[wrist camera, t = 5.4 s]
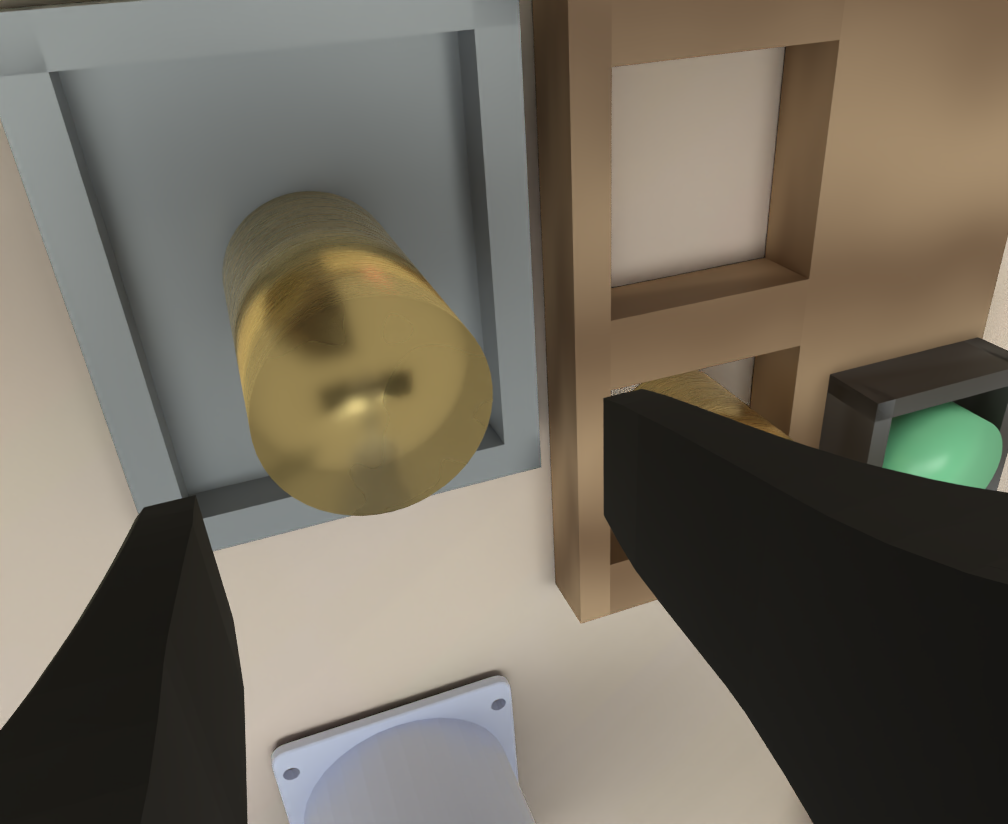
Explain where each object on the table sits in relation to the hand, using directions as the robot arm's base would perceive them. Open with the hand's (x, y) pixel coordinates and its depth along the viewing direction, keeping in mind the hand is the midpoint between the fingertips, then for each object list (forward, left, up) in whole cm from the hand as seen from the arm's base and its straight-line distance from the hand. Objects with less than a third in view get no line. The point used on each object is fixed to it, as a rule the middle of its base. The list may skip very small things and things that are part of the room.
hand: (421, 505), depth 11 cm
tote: (0, 0, -10) cm, 10 cm away
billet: (0, 0, -10) cm, 10 cm away
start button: (-8, -17, -8) cm, 21 cm away
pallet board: (-3, -13, -10) cm, 17 cm away
